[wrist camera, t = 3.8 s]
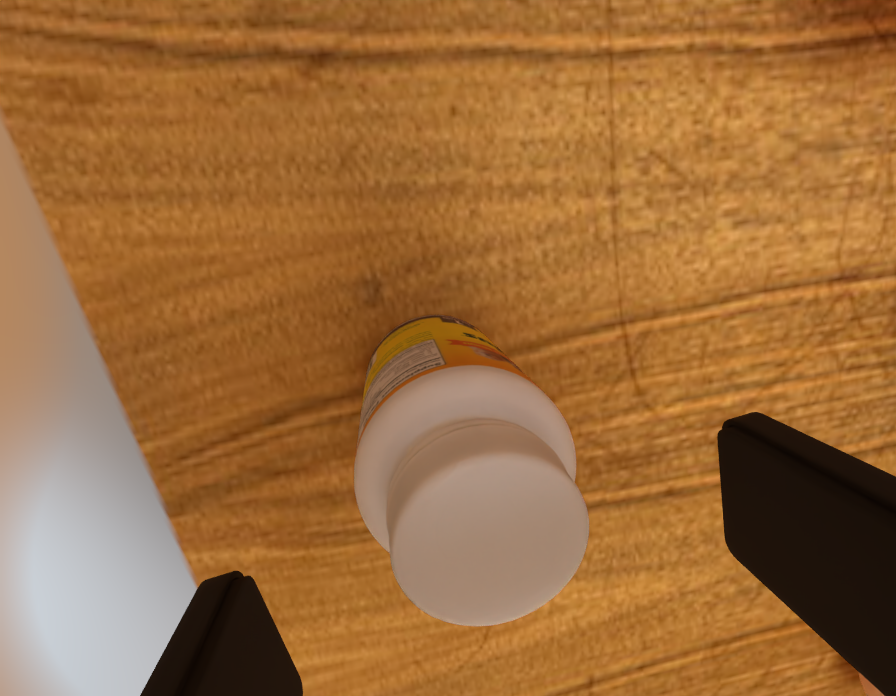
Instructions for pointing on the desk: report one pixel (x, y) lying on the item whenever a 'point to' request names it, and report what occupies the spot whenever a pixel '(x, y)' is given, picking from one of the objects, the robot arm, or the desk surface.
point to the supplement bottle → (466, 475)
